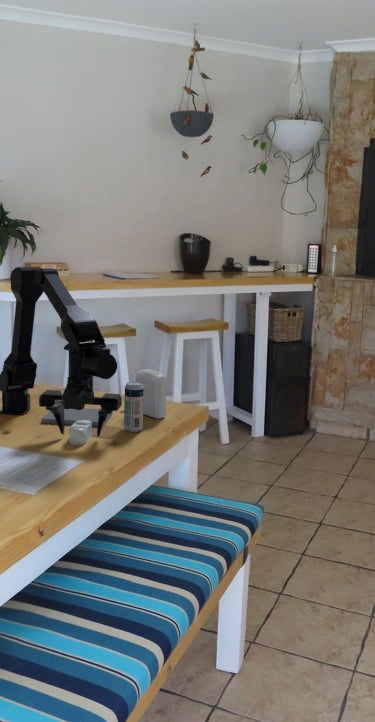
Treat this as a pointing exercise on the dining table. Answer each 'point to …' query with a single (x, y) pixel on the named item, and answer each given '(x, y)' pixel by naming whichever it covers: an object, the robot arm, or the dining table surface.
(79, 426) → the grey rounded piece
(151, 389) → the photo printer
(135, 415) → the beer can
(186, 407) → the dining table surface
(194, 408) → the dining table surface
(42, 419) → the slate board
